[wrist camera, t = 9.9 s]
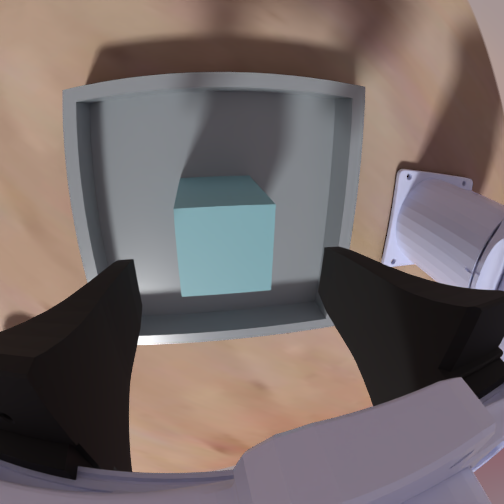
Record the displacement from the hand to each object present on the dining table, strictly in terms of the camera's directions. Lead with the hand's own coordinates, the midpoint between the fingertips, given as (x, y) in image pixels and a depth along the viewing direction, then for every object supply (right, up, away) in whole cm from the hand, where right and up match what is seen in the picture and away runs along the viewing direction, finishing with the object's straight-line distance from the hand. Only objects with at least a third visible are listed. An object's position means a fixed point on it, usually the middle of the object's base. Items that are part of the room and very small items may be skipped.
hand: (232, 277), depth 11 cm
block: (-1, +3, +7) cm, 8 cm away
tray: (-2, +4, +7) cm, 8 cm away
